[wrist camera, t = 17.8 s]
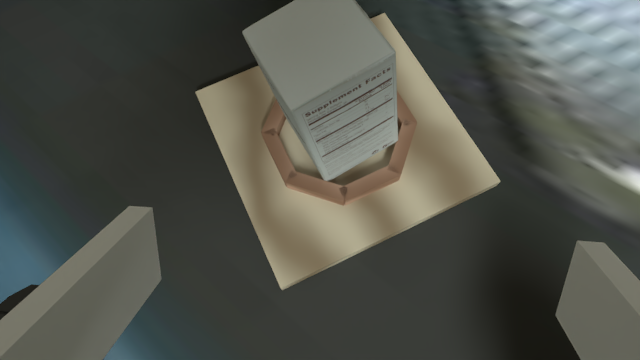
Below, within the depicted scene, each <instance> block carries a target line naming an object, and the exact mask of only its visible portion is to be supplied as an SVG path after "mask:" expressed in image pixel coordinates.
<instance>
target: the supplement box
mask: <svg viewBox="0 0 640 360" xmlns="http://www.w3.org/2000/svg"><path fill="white" fill-rule="evenodd" d="M242 34H243V36H244V38H245V40H246V42H247V44H248V46H249V48H250V49H251V51H252V53H253V55H254V57H255V59H256V61H257V63H258V65H259V67H260V69H261V71H262V72H263V74H264V76H265V78H266V80H267V82H268V84H269V86H270V88H271V90H272V92H273V94H274V96H275V97H276V99H277V101H278V103H279V105H280V107H281V109H282V111H283V113H284V115H285V117H286V119H287V121H288V122H289V124H290V125H291V127H292V128H293V130H294V132H295V133H296V135H297V137H298V138H299V140H300V142H301V143H302V145H303V147H304V148H305V150H306V151H307V153H308V155H309V156H310V158H311V160H312V161H313V163H314V164H315V166H316V168H317V169H318V171H319V173H320V174H321V176H322V178H323V180H325V181H328V182H329V181H330V180H332V179H334V178H336V177H337V176H339V175H341V174H343V173H344V172H346V171H348V170H349V169H351V168H353V167H355V166H356V165H358V164H360V163H361V162H363V161H365V160H366V159H368V158H370V157H372V156H373V155H375V154H377V153H378V152H380V151H382V150H384V149H385V148H387V147H388V146H390V145H392V144H394V143H395V142H397V141H398V121H397V77H396V52H395V49H394V48H393V47H392V46H391V44H390V43H389V42H388V40H387V39H386V38H385V37H384V36H383V35H382V33H381V32H380V31H379V30H378V28H377V27H376V26H375V25H374V23H373V22H372V21H371V20H370V18H369V17H368V16H367V14H366V13H365V12H364V10H363V9H362V8H361V7H360V6H359V5H358V4H357V2H356V1H355V0H294V1H292V2H291V3H289V4H287V5H286V6H284V7H282V8H280V9H279V10H277V11H275V12H273V13H272V14H270V15H268V16H266V17H265V18H263V19H261V20H260V21H258V22H256V23H254V24H253V25H251V26H249V27H248V28H246V29H245V30H243V32H242Z"/></svg>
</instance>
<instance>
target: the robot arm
mask: <svg viewBox="0 0 640 360" xmlns="http://www.w3.org/2000/svg"><path fill="white" fill-rule="evenodd" d="M160 280H161V272H160V264H159V256H158V249H157V241H156V233H155V225H154V217H153V209H152V208H149V207H136V206H129V207H128V208H127V209H125V210H124V211H123V212H122V213H121V214H120V215H119V216H118V217H116V218H115V219H114V220H113V221H112V222H111V223H110V224H108V225H107V226H106V227H105V228H104V229H103V230H102V231H101V232H99V233H98V234H97V235H96V236H95V237H94V238H93V239H91V240H90V241H89V242H88V243H87V244H86V245H85V246H84V247H82V248H81V249H80V250H79V251H78V252H77V253H76V254H74V255H73V256H72V257H71V258H70V259H69V260H68V261H67V262H65V263H64V264H63V265H62V266H61V267H60V268H59V269H58V270H56V271H55V272H54V273H53V274H52V275H51V276H50V277H48V278H47V279H46V280H45V281H44V282H43V283H42V284H41V285H30V286H28V287H26V288H24V289H22V290H20V291H18V292H17V293H15V294H13V295H11V296H9V297H8V298H7V299H6V300H4V301H3V302H2V303H1V304H0V360H103V358H104V357H105V356H106V354H107V353H108V352H109V350H110V349H111V347H112V346H113V345H114V343H115V342H116V341H117V339H118V338H119V336H120V335H121V334H122V332H123V331H124V330H125V328H126V327H127V326H128V324H129V323H130V321H131V320H132V319H133V317H134V316H135V315H136V313H137V312H138V310H139V309H140V308H141V306H142V305H143V304H144V302H145V301H146V300H147V298H148V297H149V295H150V294H151V293H152V291H153V290H154V289H155V287H156V286H157V285H158V283H159V282H160ZM555 316H556V317H557V319H558V321H559V323H560V324H561V326H562V328H563V330H564V331H565V333H566V335H567V337H568V338H569V340H570V342H571V344H572V345H573V347H574V349H575V351H576V352H577V354H578V356H579V357H580V359H581V360H640V281H639V280H638V278H637V277H636V276H635V275H634V274H633V273H632V272H631V271H630V270H629V269H628V268H627V267H626V266H625V265H624V263H623V262H622V261H621V260H620V259H619V258H618V257H617V256H616V255H615V254H614V253H613V252H612V251H611V250H610V249H609V247H608V246H607V245H606V244H605V243H601V242H588V241H577V243H576V246H575V250H574V253H573V256H572V260H571V263H570V267H569V270H568V273H567V277H566V280H565V284H564V287H563V290H562V294H561V297H560V301H559V304H558V307H557V311H556V314H555Z"/></svg>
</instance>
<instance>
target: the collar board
mask: <svg viewBox="0 0 640 360" xmlns="http://www.w3.org/2000/svg"><path fill="white" fill-rule="evenodd" d="M370 20H371V21H372V22H373V23H374V25H375V26H376V27H377V28H378V30H379V31H380V32H381V33H382V35H383V36H384V37H385V38H386V39H387V40H388V42H389V43H390V44H391V46H392V47H393V48H394V49H395V52H396V77H397V121H398V141H397V142H395V143H394V144H392V145H390V146H388V147H387V148H385V149H384V150H382V151H380V152H378V153H377V154H375V155H373V156H372V157H370V158H368V159H366V160H365V161H363V162H361V163H360V164H358V165H356V166H355V167H353V168H351V169H349V170H348V171H346V172H344V173H343V174H341V175H339V176H337V177H336V178H334V179H332V180H330V181H329V182H328V181H325V180H323V178H322V176H321V174H320V173H319V171H318V169H317V168H316V166H315V164H314V163H313V161H312V160H311V158H310V156H309V155H308V153H307V151H306V150H305V148H304V147H303V145H302V143H301V142H300V140H299V138H298V137H297V135H296V133H295V132H294V130H293V128H292V127H291V125H290V124H289V122H288V121H287V119H286V117H285V115H284V113H283V111H282V109H281V107H280V105H279V103H278V101H277V99H276V97H275V96H274V94H273V92H272V90H271V88H270V86H269V84H268V82H267V80H266V78H265V76H264V74H263V72H262V71H261V69H260V67H259V65H258V66H256V67H254V68H251V69H249V70H246V71H244V72H242V73H239V74H237V75H234V76H232V77H230V78H227V79H225V80H222V81H220V82H218V83H215V84H213V85H210V86H208V87H206V88H203V89H201V90H198V91H196V92H195V93H196V95H197V97H198V100H199V102H200V104H201V107H202V109H203V111H204V113H205V116H206V118H207V120H208V123H209V125H210V127H211V130H212V132H213V134H214V136H215V139H216V141H217V143H218V146H219V148H220V150H221V152H222V155H223V157H224V159H225V162H226V164H227V166H228V169H229V171H230V173H231V175H232V178H233V180H234V182H235V185H236V187H237V189H238V192H239V194H240V196H241V198H242V201H243V203H244V205H245V208H246V210H247V212H248V214H249V217H250V219H251V221H252V224H253V226H254V228H255V231H256V233H257V235H258V237H259V240H260V242H261V244H262V247H263V249H264V251H265V254H266V256H267V258H268V260H269V263H270V265H271V267H272V270H273V272H274V274H275V277H276V279H277V281H278V283H279V286H280V288H281V289H282V290H284V289H286V288H288V287H290V286H292V285H294V284H296V283H298V282H300V281H302V280H304V279H306V278H308V277H310V276H313V275H315V274H317V273H319V272H321V271H323V270H325V269H327V268H329V267H331V266H333V265H335V264H337V263H339V262H341V261H343V260H345V259H347V258H349V257H352V256H354V255H356V254H358V253H360V252H362V251H364V250H366V249H368V248H370V247H372V246H374V245H376V244H378V243H380V242H382V241H384V240H386V239H388V238H390V237H393V236H395V235H397V234H399V233H401V232H403V231H405V230H407V229H409V228H411V227H413V226H415V225H417V224H419V223H421V222H423V221H425V220H427V219H429V218H431V217H434V216H436V215H438V214H440V213H442V212H444V211H446V210H448V209H450V208H452V207H454V206H456V205H458V204H460V203H462V202H464V201H466V200H468V199H470V198H473V197H475V196H477V195H479V194H481V193H483V192H485V191H487V190H489V189H491V188H493V187H495V186H497V185H498V184H499V183H500V182H501V181H500V180H499V178H498V177H497V175H496V174H495V172H494V171H493V169H492V168H491V167H490V165H489V164H488V162H487V161H486V159H485V158H484V156H483V155H482V153H481V152H480V151H479V149H478V148H477V146H476V145H475V143H474V142H473V140H472V139H471V137H470V136H469V135H468V133H467V132H466V130H465V129H464V127H463V126H462V124H461V123H460V122H459V120H458V119H457V117H456V116H455V114H454V113H453V111H452V110H451V108H450V107H449V106H448V104H447V103H446V101H445V100H444V98H443V97H442V95H441V94H440V92H439V91H438V90H437V88H436V87H435V85H434V84H433V82H432V81H431V79H430V78H429V77H428V75H427V74H426V72H425V71H424V69H423V68H422V66H421V65H420V63H419V62H418V61H417V59H416V58H415V56H414V55H413V53H412V52H411V50H410V49H409V48H408V46H407V45H406V43H405V42H404V40H403V39H402V37H401V36H400V34H399V33H398V32H397V30H396V29H395V27H394V26H393V24H392V23H391V21H390V20H389V18H388V17H387V16H386V14H385V13H383V14H381V15H378V16H376V17H374V18H371V19H370Z"/></svg>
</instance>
